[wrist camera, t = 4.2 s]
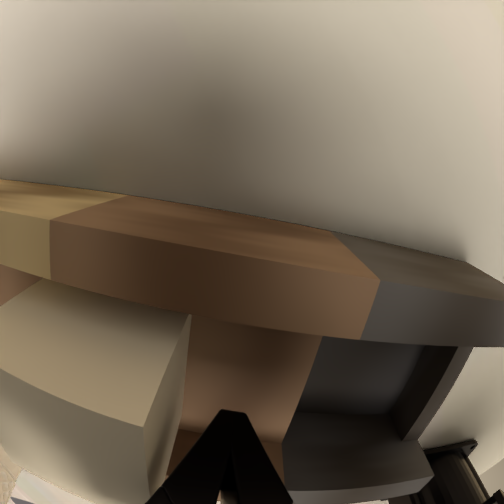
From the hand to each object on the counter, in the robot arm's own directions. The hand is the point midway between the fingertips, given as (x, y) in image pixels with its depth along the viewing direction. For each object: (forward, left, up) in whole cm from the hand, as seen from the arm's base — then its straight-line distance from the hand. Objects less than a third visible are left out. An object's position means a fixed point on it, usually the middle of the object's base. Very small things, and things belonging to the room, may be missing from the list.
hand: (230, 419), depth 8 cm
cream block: (+4, 0, -2) cm, 5 cm away
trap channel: (+2, 0, -5) cm, 5 cm away
